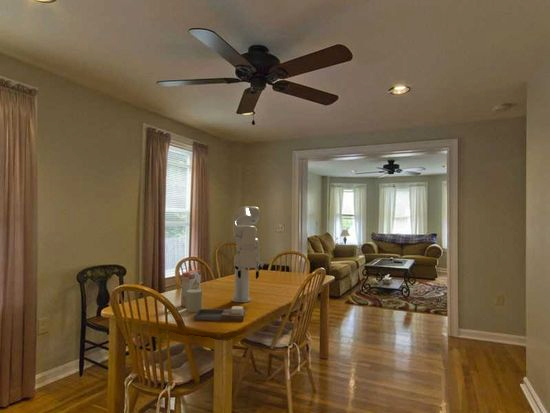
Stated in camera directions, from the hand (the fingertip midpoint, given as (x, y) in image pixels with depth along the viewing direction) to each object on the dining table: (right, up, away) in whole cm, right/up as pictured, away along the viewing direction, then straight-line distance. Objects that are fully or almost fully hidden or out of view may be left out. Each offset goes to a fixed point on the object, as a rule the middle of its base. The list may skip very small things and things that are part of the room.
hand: (248, 278), depth 193 cm
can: (-33, -22, +11) cm, 41 cm away
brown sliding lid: (-8, -21, -2) cm, 23 cm away
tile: (-6, -18, -2) cm, 19 cm away
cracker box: (-38, -22, +24) cm, 50 cm away
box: (-21, -21, -2) cm, 30 cm away
